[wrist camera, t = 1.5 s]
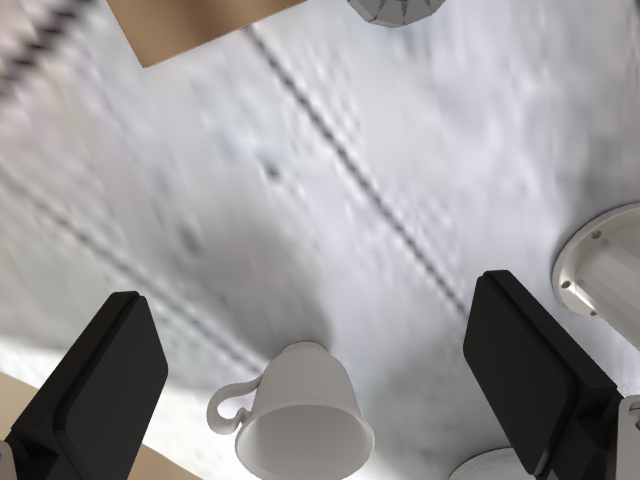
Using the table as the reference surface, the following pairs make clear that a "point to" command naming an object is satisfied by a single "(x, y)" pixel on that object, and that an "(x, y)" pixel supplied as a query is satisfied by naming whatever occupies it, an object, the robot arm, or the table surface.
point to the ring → (394, 11)
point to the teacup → (298, 419)
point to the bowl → (493, 467)
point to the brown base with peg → (185, 23)
